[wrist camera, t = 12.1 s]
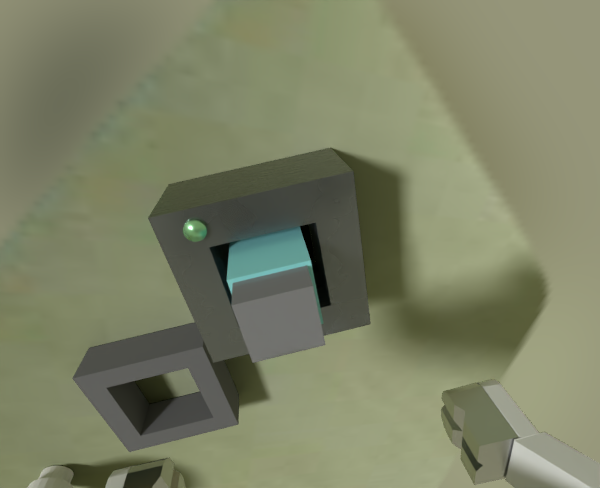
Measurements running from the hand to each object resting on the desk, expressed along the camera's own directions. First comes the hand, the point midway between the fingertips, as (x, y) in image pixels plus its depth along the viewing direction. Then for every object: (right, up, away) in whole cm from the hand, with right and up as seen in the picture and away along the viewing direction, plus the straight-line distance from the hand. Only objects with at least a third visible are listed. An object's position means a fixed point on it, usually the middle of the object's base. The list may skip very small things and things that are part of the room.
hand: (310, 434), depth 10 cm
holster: (-10, -4, +15) cm, 18 cm away
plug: (-2, +6, +11) cm, 13 cm away
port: (-2, +6, +11) cm, 13 cm away
